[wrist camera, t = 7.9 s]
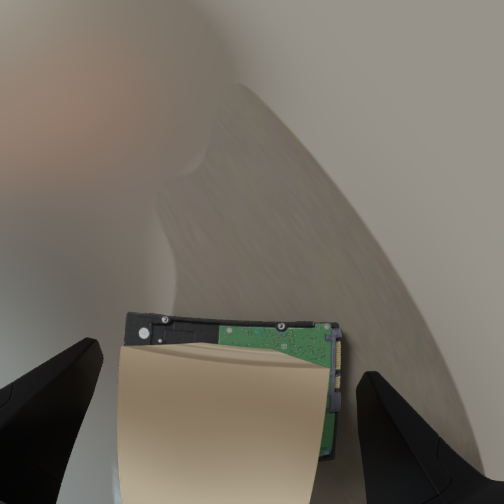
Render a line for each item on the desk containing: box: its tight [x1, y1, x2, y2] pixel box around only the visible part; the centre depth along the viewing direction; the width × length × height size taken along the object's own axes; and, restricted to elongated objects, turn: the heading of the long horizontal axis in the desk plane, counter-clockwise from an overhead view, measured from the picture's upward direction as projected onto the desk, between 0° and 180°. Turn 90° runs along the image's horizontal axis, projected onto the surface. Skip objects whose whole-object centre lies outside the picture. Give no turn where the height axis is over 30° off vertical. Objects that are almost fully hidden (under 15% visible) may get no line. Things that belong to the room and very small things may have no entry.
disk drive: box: [124, 312, 342, 462], centre depth 17 cm, size 10×3×15 cm
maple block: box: [117, 343, 330, 504], centre depth 10 cm, size 4×4×12 cm
